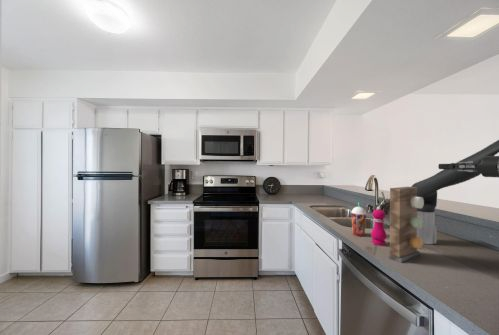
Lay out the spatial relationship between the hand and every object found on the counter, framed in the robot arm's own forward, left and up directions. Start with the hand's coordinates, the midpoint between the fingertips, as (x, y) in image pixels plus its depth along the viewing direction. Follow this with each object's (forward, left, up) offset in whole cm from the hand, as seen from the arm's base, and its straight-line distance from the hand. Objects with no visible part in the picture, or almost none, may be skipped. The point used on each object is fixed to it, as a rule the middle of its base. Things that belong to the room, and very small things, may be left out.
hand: (439, 166), depth 89 cm
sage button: (+5, -6, -27) cm, 29 cm away
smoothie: (+19, -39, -42) cm, 61 cm away
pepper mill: (+13, -25, -42) cm, 51 cm away
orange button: (+5, -6, -36) cm, 37 cm away
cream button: (+5, -6, -18) cm, 20 cm away
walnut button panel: (+8, -10, -42) cm, 44 cm away
